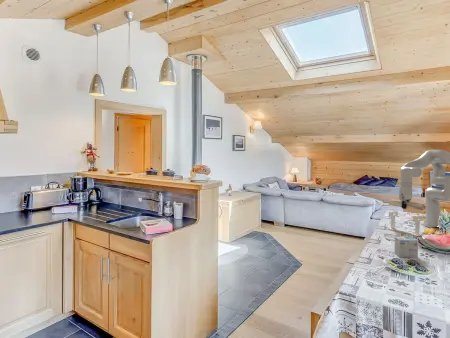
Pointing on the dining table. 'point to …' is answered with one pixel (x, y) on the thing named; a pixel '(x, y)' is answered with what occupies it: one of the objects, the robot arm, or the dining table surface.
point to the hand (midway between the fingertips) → (405, 208)
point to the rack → (417, 229)
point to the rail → (407, 204)
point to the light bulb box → (406, 247)
